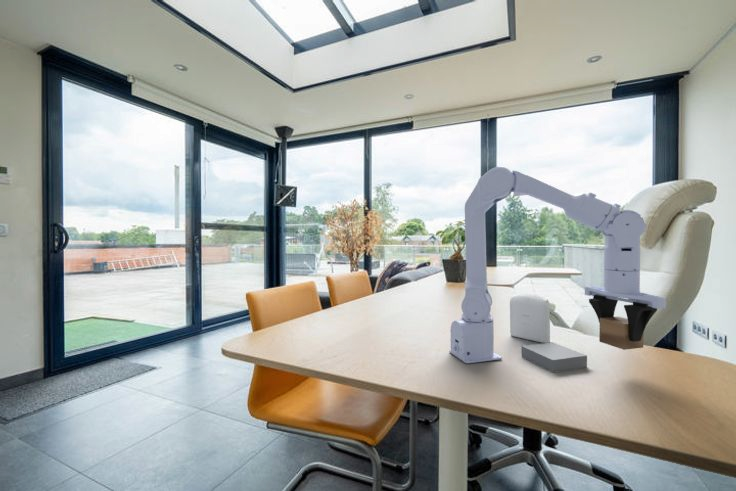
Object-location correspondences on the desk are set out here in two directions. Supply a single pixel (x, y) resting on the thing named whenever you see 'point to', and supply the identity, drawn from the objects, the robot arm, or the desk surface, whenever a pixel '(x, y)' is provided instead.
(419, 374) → the desk surface
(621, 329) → the walnut cube
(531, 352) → the base slab
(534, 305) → the photo printer
